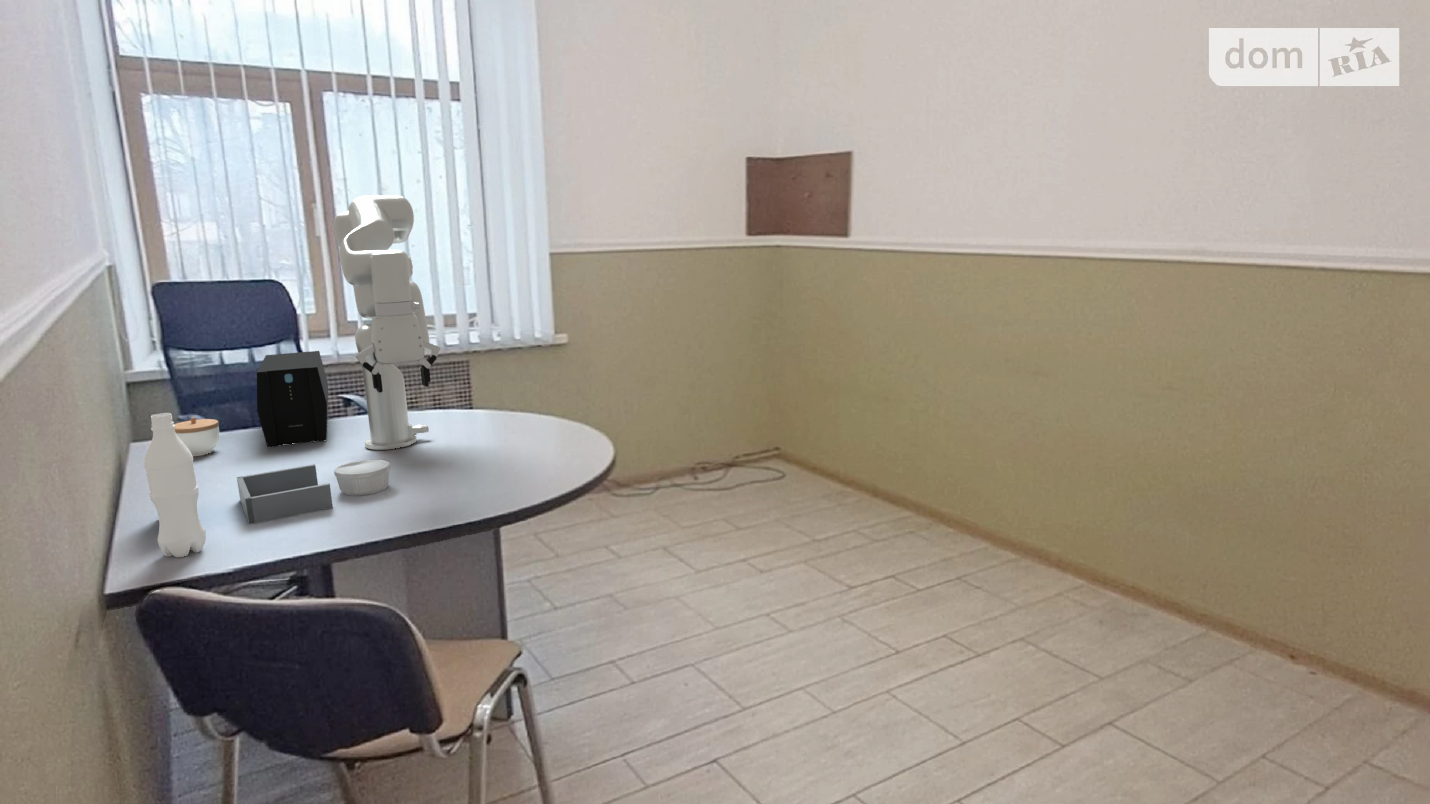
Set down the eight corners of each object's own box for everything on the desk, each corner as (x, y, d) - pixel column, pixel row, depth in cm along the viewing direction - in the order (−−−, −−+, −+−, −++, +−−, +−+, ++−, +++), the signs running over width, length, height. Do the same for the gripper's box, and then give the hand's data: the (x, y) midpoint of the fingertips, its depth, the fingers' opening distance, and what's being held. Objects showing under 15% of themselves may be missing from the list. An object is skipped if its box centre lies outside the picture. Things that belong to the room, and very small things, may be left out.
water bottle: (173, 563, 144) (148, 421, 139) (152, 555, 148) (127, 417, 143) (216, 549, 150) (193, 412, 145) (195, 541, 154) (172, 408, 149)
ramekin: (367, 479, 190) (364, 456, 188) (403, 485, 185) (401, 462, 183) (325, 494, 180) (322, 470, 179) (362, 500, 175) (359, 476, 174)
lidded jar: (224, 445, 222) (219, 410, 220) (220, 455, 213) (215, 419, 211) (177, 451, 218) (171, 416, 216) (171, 461, 208) (164, 424, 206)
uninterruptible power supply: (262, 448, 218) (251, 372, 214) (271, 421, 249) (261, 354, 244) (331, 440, 225) (322, 366, 221) (331, 415, 255) (323, 349, 251)
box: (317, 486, 185) (314, 464, 184) (332, 507, 171) (329, 484, 169) (240, 500, 177) (236, 477, 176) (249, 524, 162) (245, 499, 161)
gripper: (430, 305, 188) (438, 381, 191) (347, 312, 179) (357, 391, 182) (439, 308, 181) (447, 386, 185) (354, 314, 172) (364, 396, 176)
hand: (402, 388), depth 184 cm, fingers open, 9 cm apart
